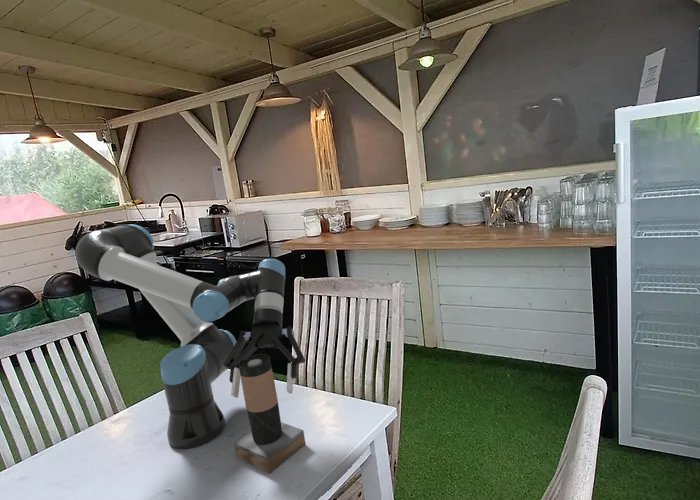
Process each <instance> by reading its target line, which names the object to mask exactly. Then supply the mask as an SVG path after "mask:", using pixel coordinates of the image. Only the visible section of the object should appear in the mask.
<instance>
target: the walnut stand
mask: <svg viewBox="0 0 700 500" xmlns="http://www.w3.org/2000/svg"><path fill="white" fill-rule="evenodd" d="M281 427H282V435H281V437H280V438H279V439H278V440H276V441H275V442H273V443H270V444H265V445H260V444H257V443H255V442H254V440H253V436H252V432H251V431H250V432H249V433H247V434H245V435H244V436H242V437H241V438H240V439H238V440H237V441H235V442H234V443H233V445H234V449H235V453H236V458H237V459H238V460H241V461H243V462H245V463H247V464H249V465H251V466H253V467H255V468H257V469H260V470H261V471H263V472H266V473H268V474H272V473H273V471H275V470H276V469H278V468H279V467H280V466H281V465H282V464H283V463H285V462H287V461H288V460H289V459H291V457H292V456H294V455H296V453H297V452H299V451H300V450H301V449H302V448H304V447H305V446H306V437H305V430H304V429H302V428H298V427H295V426H293V425H290V424H288V423H286V422H282V421H281Z"/></svg>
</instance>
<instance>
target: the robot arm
mask: <svg viewBox="0 0 700 500" xmlns="http://www.w3.org/2000/svg"><path fill="white" fill-rule="evenodd" d="M154 241H155V240H154V239H153V237H152V235H151V233H150V232H149V231H148V230H147V229H145V228H144V227H142V226H141V225H139V224H138V225H137V224H133V223H132V224H131V223H130V224H119V225H117V226H114V227H113V226H112V227H108V228H103V229H97V230H93V231H90V232H88V233H86V234H85V235H83V236H82V237H81V238H80V239H79V241H78V242H77V244H76V247H75V253H74V254H75V258H76V259H75V260H76V261H77V264H78V265H79V267H80V268H81V269H82V270H83V271H84V272H86V273H87V274H89V275H91V276H93V277H95V278H97V279H101V280H104V281H108V282H109V281H112V280H114V281H117V282H119V283H122V284H125V285H128V286H131V287H133V288H135V289H138V290H139V291H140V292H141V294H142V295H143V296H144V297H145V299H146V300H147V302H149V304H150V305H151V306H152V307H153V308H154V310H155V311H156V312H157V313H158V314H159V316H160V317H161V318H162V319H163V321H164V322H165V323H166V324H167V326H168V327H169V328H170V330H171V331H172V332H173V333H174V334H175V335H176V336H177V338H178V339H179V340H180V346H179V347H178V348H174V349H173V350H171V351H169V352H168V353H167V354H166V355H165V356H164V357H162V360H161V361H160V378H161V380H162V384H163V390H164V394H165V398H166V401H167V406H168V410H169V417H168V425H167V432H166V433H167V435H166V437H167V440H168V444H169V445H170V446H171V447H173V448H176V449H191V448H195V447H199V446H202V445H204V444H207V443H209V442H211V441H212V440H214V439H215V438H217V437H218V436H220V435H221V434H222V432H223V431H224V430H225V428H226V421H225V420H226V419H225V416H224V413H223V411H222V410H221V408H220V407H219V406H218V404H217V402H216V401H215V398H214V394H213V392H214V391H213V387H212V383H213V382H214V381H216V380H217V379H218V378H219V377H220V376H221V375H222V374H223V373H224V372H225V371H227V370H230V373H229V378H228V379H229V382H230V383H231V384H232V385H231V393H230V395H231V396H232V397H234V398H235V399H236V398H239V392H240V386H241V376H240V370H239V362H240V361H241V360H242V359H244V360H246V359H249V358H251V357H252V354H254V352H256V351H257V350H258V349H259V348H260V349H266V348H271V349H272V348H273V347H277V348H279V350H280V351H281V352H282V353H283V355H285V357H286V358H287V359H288V360H289V361H290V362H289V363H287V374H286V375H287V376H286V392H287V393H288V394H293V393H294V392H293V391H294V379H297V378H298V368H299V365H300V364H304V363H305V362H306V359H305V356H304V355H303V351H302V350H301V348H300V346H299V344H298V342H297V340H296V338H295V331H294V329H293V328H292V326H291V325H289V326H287V327H286V328H283V317H284V315H283V312H284V302H285V301H284V300H285V299H284V295H285V283H286V279H287V278H286V267H285V264H284V263H283V261H280V260H279V259H275V258H267V259H264V260H262V261H260V262H259V264H258V268H257V270H254V271H251V272H247V273H242V274H241V273H240V274H238V275H231V276H228V277H225V278H222V279H220V280H219V281H218V283H217V285H214V284H211V283H208V282H205V281H203V280H199V279H197V278H194V277H192V276H189V275H186V274H183V273H181V272H178V271H176V270H172V269H170V268H167V267H164V266H161V265H159V263H157V260H156V259H157V258H156V257H157V253H156V252H155V251H154V249H155V244H154ZM254 299H255V301H254V314H253V321H252V328H251V331H245V330H243V329H242V330H241V331H240V332H239V336H238V339H237V340H236V338H235V336H234V335H233V334H232V333H231V332H230V331H228V330H226V329H225V330H224V329H222V328H219V329H218V327H217V326H216V325H215V324H214V323H213V322H214V321H216V320H219V319H221V318H223V317H224V316H225V315H226V314H227V313H229V312H230V311H232V310H233V309H235V308H237V307H238V306H239V305H241V304H242V303H244V302H246V301H250V300H254ZM284 335H285V337H286V338H288V339H289V343H290V344H291V346H292V348H293V350H294V352H295V355H296V356H297V357H294V356H293V354H292V353H291V352H290V351H289V350H288V349H287V347H286V346H285V345H284V344H283V343H282V342H281V341H280V340H281V338H282V337H283V336H284ZM250 338H251V340H250V341H249V339H250ZM248 341H249V342H248ZM247 342H248V344H247V346H246V347H245V345H246V343H247ZM244 347H245V348H244Z"/></svg>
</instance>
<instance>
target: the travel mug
mask: <svg viewBox="0 0 700 500" xmlns="http://www.w3.org/2000/svg"><path fill="white" fill-rule="evenodd" d="M239 370H240V383H241V386H242V392H243V398H244V405H245V408H246V409H245V410H246V413H247V417H248V422H249V423H248V424H249V427H250V432H252V436H253V440H254V442H255V443H257V444H260V445H265V444H270V443H273V442H275V441H276V440H278V439H279V438H280V437H281V435H282V427H281V422H282V421H281V420H282V419H281V413H280V408H279V406H280V405H279V400H278V393H277V390H276V389H277V388H276V384H275V377H274V372H273V367H272V362H271V358H270V356H269V355H268V354H265V353H259V354H253V355H251V356H250V357H249V358H248V359H246V360H244V359H242V360H241V361H240V362H239Z"/></svg>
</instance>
